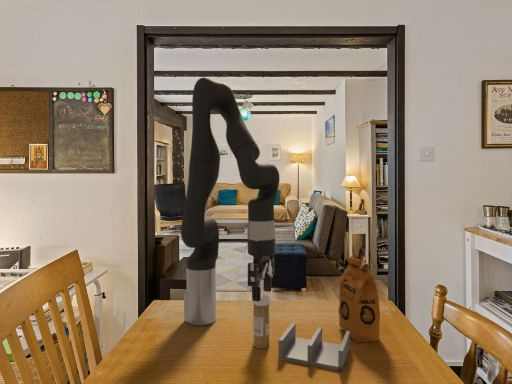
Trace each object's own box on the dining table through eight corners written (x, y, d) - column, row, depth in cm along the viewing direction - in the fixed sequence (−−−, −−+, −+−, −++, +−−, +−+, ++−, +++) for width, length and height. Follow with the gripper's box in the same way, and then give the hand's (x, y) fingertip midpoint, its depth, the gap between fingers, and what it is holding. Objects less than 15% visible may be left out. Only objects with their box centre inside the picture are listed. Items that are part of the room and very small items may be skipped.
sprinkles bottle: (272, 345, 104) (273, 297, 103) (259, 350, 101) (259, 300, 101) (263, 339, 108) (263, 292, 107) (249, 343, 105) (249, 295, 104)
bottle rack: (278, 359, 96) (278, 340, 96) (292, 340, 107) (292, 322, 107) (342, 371, 90) (342, 351, 90) (349, 349, 101) (350, 331, 101)
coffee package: (351, 345, 104) (352, 265, 103) (335, 327, 117) (335, 255, 116) (385, 342, 106) (386, 264, 105) (365, 325, 118) (366, 254, 117)
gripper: (258, 232, 111) (258, 287, 112) (237, 240, 98) (238, 302, 99) (282, 233, 108) (283, 289, 109) (265, 241, 95) (266, 305, 96)
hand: (262, 295), depth 104 cm, fingers open, 8 cm apart
